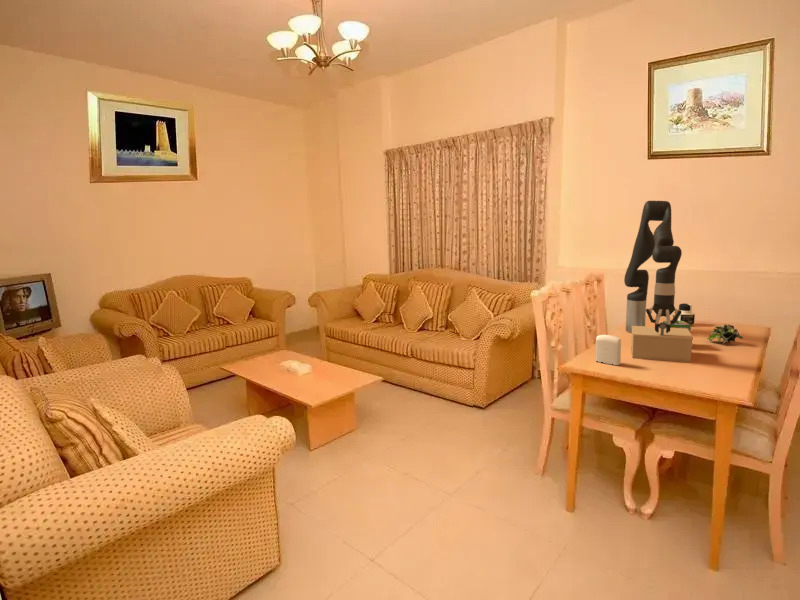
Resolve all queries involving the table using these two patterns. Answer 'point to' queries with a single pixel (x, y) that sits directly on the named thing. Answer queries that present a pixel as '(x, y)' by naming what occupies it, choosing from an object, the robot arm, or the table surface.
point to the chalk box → (680, 324)
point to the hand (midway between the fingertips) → (662, 332)
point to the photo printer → (608, 349)
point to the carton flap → (661, 332)
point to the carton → (661, 348)
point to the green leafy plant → (725, 333)
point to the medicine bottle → (686, 314)
